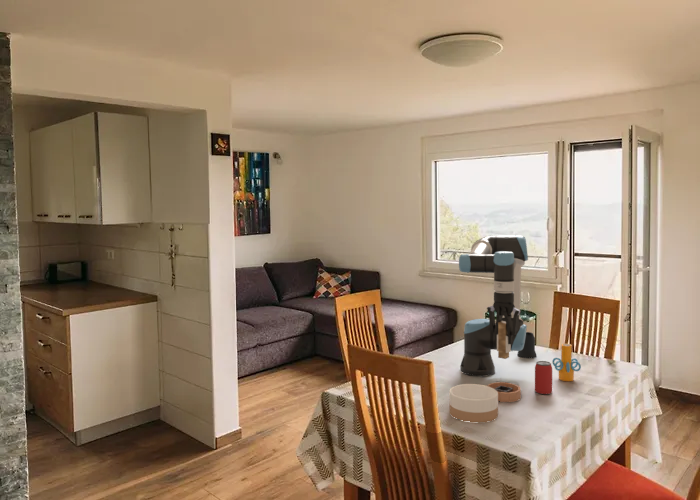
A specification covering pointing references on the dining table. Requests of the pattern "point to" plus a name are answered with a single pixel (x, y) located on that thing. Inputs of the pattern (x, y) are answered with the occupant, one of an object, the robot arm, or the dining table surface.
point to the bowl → (473, 402)
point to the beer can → (543, 377)
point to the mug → (528, 347)
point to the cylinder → (566, 363)
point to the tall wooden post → (502, 340)
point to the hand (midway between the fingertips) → (503, 351)
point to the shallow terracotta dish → (505, 395)
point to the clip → (504, 389)
